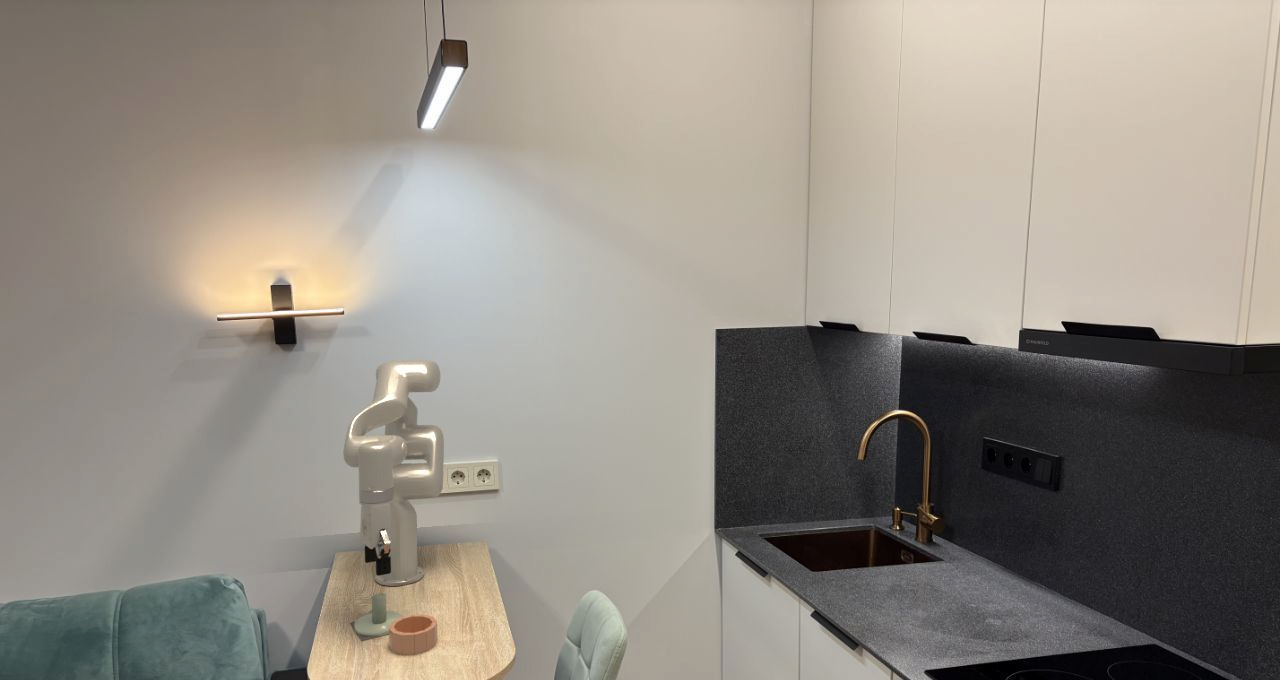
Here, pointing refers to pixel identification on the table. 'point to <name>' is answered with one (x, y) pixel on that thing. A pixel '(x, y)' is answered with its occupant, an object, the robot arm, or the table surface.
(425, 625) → the bowl
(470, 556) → the table surface
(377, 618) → the lid
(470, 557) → the table surface
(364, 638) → the mat
